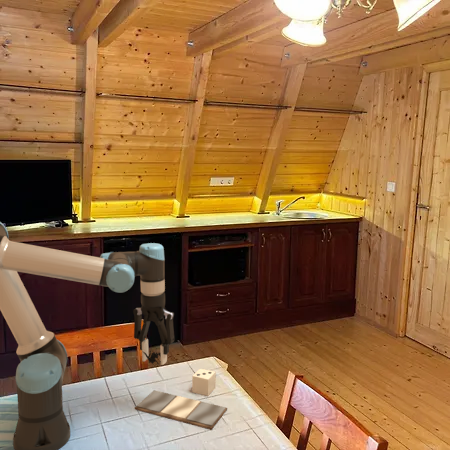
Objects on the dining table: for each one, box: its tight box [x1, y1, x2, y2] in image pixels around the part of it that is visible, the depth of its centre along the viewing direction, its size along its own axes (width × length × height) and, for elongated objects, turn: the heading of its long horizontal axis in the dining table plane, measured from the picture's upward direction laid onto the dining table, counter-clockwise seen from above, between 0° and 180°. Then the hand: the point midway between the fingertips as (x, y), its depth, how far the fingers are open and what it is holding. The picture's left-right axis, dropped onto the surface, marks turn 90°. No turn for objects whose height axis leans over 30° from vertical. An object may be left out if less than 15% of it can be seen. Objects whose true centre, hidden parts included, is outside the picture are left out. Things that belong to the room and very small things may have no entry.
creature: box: [143, 347, 169, 365], centre depth 153 cm, size 8×5×8 cm
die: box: [191, 368, 217, 397], centre depth 162 cm, size 6×6×6 cm
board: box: [134, 389, 228, 430], centre depth 150 cm, size 27×12×1 cm, turn 67°
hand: (154, 361), depth 152 cm, fingers closed on creature, 6 cm apart
